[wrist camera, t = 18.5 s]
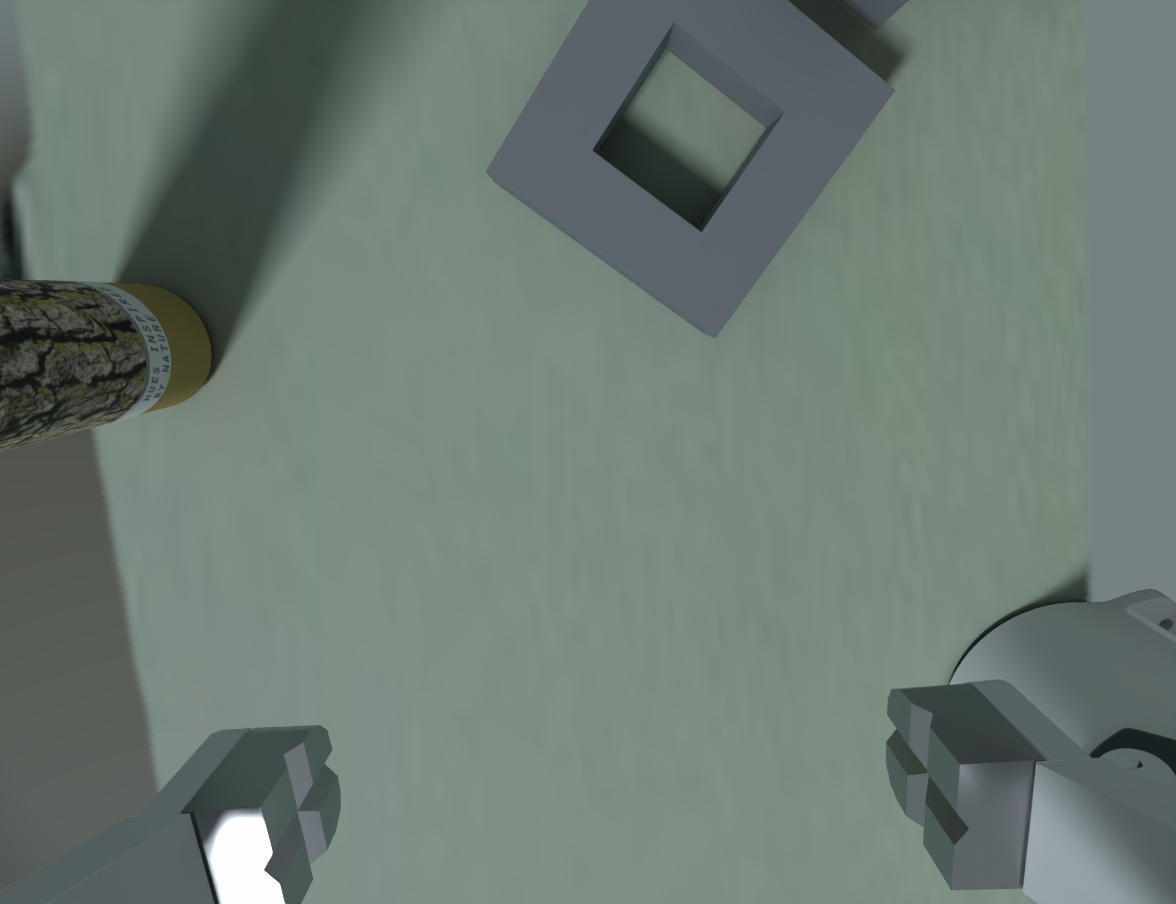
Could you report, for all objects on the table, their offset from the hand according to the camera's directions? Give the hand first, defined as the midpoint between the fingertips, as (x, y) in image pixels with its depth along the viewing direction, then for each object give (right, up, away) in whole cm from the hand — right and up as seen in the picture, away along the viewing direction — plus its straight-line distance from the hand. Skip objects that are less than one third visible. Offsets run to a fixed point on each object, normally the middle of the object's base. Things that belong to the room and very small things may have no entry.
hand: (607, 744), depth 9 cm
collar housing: (+4, +20, +24) cm, 32 cm away
